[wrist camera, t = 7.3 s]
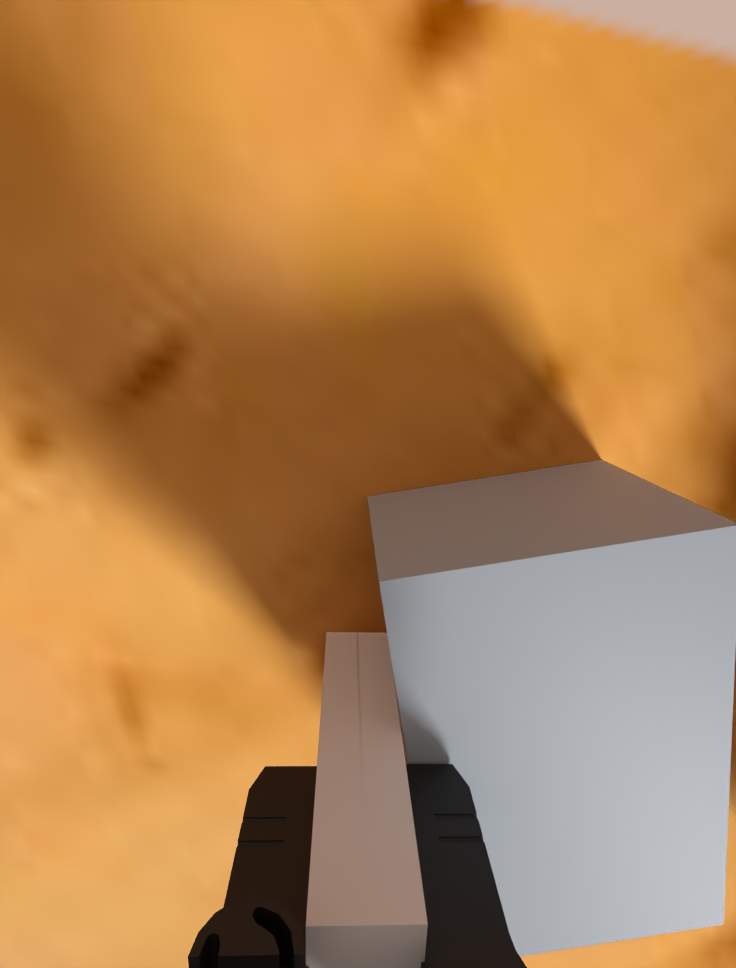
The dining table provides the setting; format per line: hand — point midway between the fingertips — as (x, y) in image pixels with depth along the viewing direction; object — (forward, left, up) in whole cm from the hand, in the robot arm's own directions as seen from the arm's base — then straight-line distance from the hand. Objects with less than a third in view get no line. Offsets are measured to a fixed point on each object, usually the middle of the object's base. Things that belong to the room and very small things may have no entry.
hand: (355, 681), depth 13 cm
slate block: (+4, 0, -2) cm, 4 cm away
